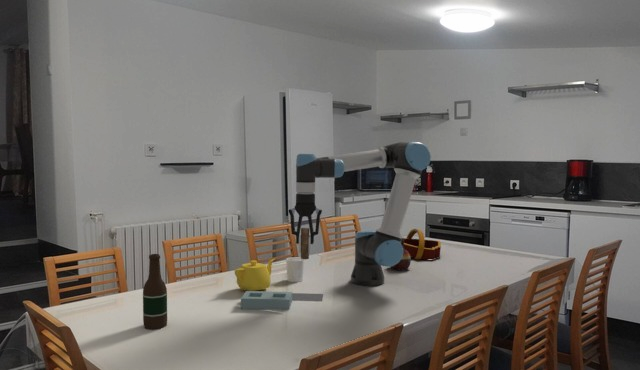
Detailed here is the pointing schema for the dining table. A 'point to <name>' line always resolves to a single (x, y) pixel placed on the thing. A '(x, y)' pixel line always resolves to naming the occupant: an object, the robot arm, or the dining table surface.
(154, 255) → the beer bottle
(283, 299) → the hole block
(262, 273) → the teapot
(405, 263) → the vase
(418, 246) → the decorative basket
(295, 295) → the mat
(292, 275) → the white cup
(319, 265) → the dining table surface
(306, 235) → the peg
